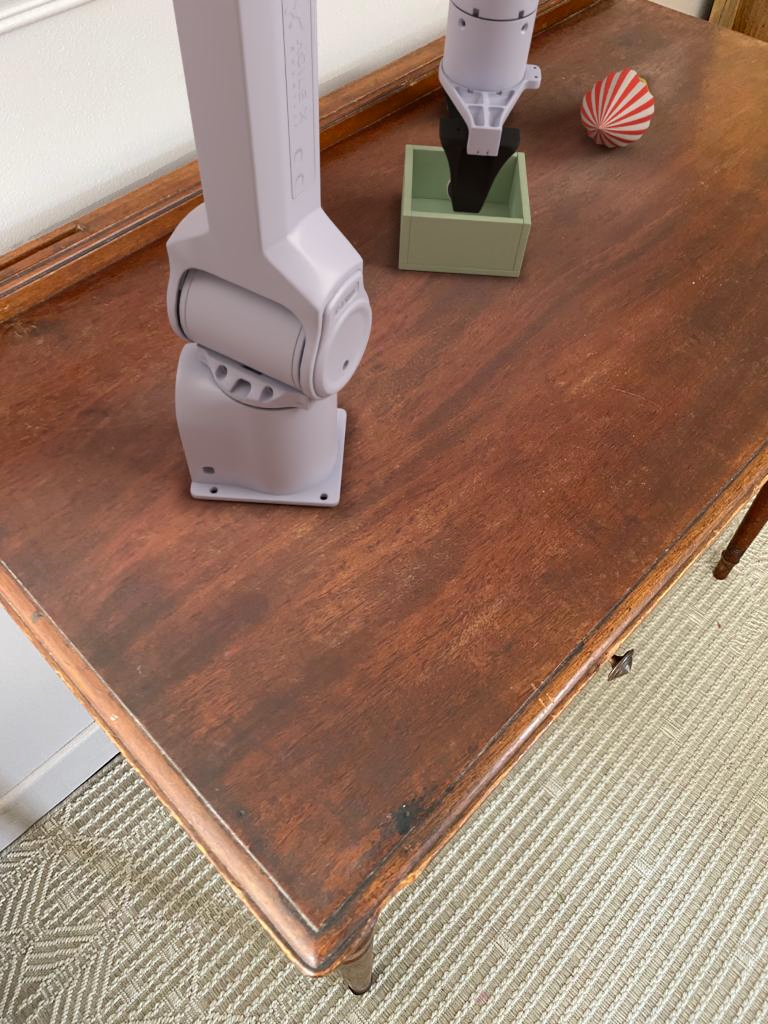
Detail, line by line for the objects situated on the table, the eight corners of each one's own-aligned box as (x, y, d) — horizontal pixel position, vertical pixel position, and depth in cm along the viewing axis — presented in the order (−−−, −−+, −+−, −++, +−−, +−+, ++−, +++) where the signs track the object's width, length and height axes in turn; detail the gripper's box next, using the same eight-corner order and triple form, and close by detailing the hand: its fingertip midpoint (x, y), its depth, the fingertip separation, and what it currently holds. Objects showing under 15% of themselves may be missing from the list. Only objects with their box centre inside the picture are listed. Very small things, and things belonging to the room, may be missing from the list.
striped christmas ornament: (639, 127, 85) (593, 183, 71) (603, 77, 84) (549, 125, 70) (690, 84, 81) (652, 135, 67) (653, 31, 79) (606, 71, 65)
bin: (398, 269, 64) (403, 215, 60) (401, 198, 69) (405, 144, 65) (518, 277, 64) (531, 223, 60) (512, 206, 69) (524, 152, 65)
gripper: (565, 62, 48) (521, 250, 59) (547, -47, 56) (511, 137, 67) (447, 54, 47) (425, 243, 59) (446, -54, 55) (427, 131, 67)
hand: (465, 186), depth 63 cm, fingers closed on wristwatch, 5 cm apart
